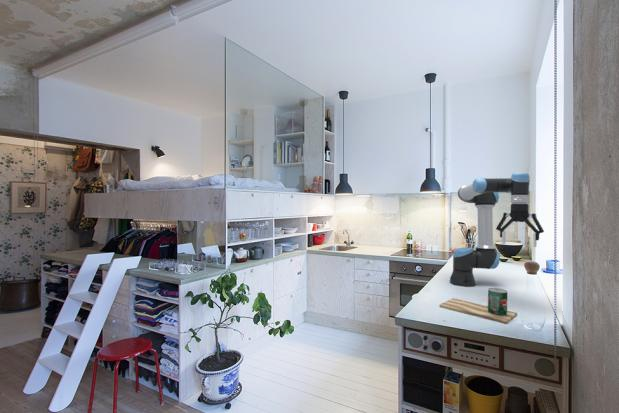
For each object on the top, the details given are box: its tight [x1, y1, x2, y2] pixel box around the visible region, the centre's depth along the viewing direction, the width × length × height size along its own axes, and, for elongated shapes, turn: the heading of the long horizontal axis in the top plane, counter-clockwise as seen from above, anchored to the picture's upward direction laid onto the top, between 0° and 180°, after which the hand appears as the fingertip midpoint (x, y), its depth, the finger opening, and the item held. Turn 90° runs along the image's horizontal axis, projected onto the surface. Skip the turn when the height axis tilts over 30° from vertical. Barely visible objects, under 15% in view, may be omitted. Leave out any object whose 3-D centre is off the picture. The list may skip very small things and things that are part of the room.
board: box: [439, 297, 518, 325], centre depth 156 cm, size 16×30×1 cm, turn 43°
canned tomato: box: [487, 287, 508, 316], centre depth 149 cm, size 8×8×11 cm
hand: (518, 245), depth 161 cm, fingers open, 13 cm apart
